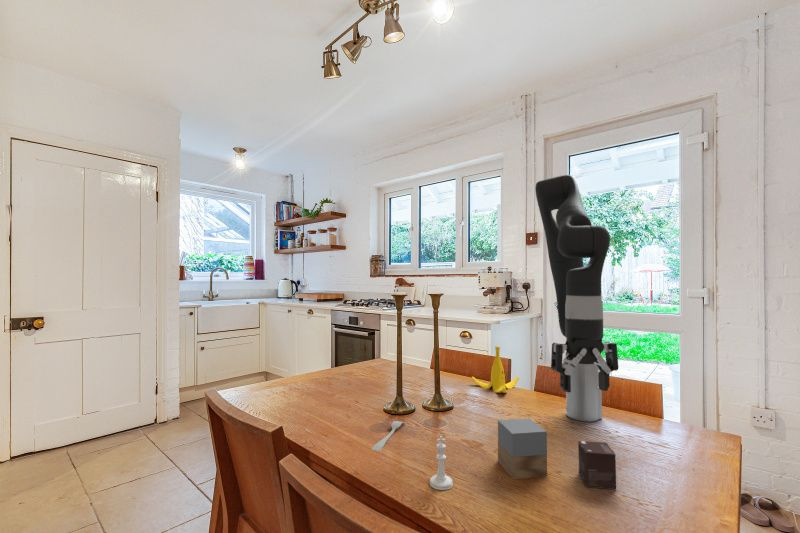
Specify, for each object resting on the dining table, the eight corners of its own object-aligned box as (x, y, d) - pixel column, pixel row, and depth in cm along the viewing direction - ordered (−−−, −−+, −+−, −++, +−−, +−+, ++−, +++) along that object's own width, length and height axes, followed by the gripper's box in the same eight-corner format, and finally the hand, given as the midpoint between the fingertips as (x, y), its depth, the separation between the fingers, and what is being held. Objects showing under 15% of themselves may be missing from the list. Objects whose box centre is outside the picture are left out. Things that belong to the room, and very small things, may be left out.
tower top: (529, 439, 93) (529, 418, 94) (547, 454, 86) (546, 431, 86) (498, 441, 92) (497, 420, 92) (512, 457, 84) (512, 433, 84)
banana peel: (519, 385, 157) (519, 343, 157) (505, 398, 141) (505, 351, 141) (480, 379, 166) (480, 340, 166) (462, 391, 150) (462, 347, 150)
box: (617, 490, 80) (616, 454, 80) (585, 487, 81) (584, 452, 81) (607, 475, 86) (606, 442, 86) (578, 473, 87) (577, 439, 87)
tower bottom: (529, 459, 94) (529, 438, 94) (547, 476, 86) (546, 453, 86) (498, 462, 92) (497, 441, 92) (513, 479, 84) (512, 456, 85)
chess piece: (427, 478, 85) (427, 432, 85) (450, 477, 85) (449, 431, 86) (431, 490, 80) (431, 441, 80) (455, 489, 80) (454, 440, 81)
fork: (370, 460, 99) (369, 449, 99) (399, 422, 118) (399, 413, 118) (380, 462, 98) (379, 451, 98) (408, 423, 117) (407, 414, 117)
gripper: (603, 314, 90) (604, 385, 89) (544, 315, 88) (545, 387, 88) (625, 317, 83) (627, 394, 82) (562, 318, 81) (563, 397, 80)
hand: (584, 390), depth 85 cm, fingers open, 8 cm apart
